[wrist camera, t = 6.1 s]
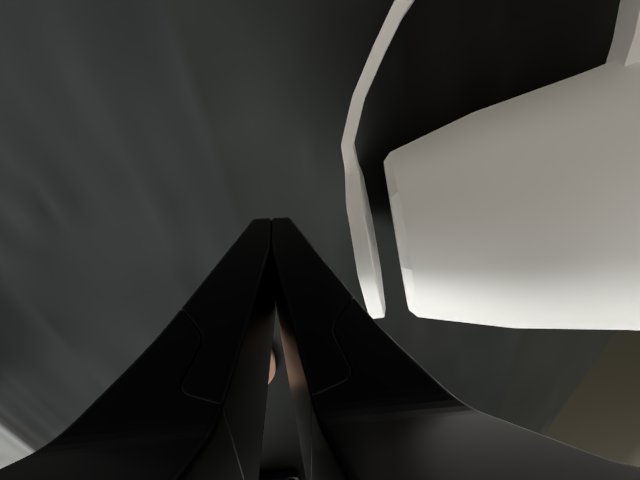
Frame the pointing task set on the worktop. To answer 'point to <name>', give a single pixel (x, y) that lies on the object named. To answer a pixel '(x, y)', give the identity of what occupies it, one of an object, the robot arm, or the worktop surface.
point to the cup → (515, 201)
